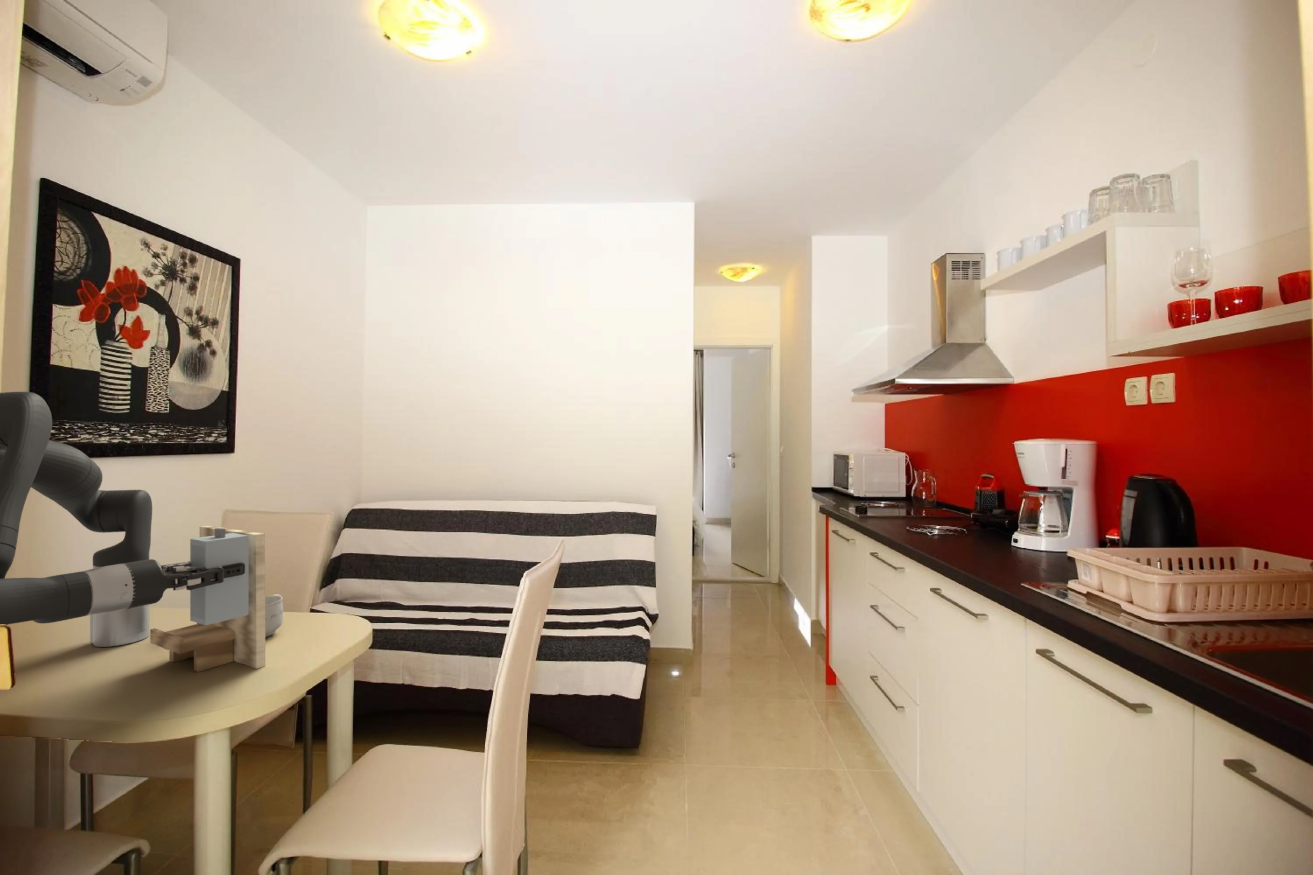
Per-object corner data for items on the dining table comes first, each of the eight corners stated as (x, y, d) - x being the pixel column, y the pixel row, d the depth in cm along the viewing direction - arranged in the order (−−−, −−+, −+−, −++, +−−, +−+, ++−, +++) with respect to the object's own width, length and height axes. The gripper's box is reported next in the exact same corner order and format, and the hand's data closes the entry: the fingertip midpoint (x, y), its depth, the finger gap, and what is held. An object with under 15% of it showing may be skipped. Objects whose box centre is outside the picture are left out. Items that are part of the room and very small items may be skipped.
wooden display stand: (145, 663, 115) (145, 533, 115) (208, 646, 125) (208, 525, 125) (201, 686, 105) (200, 542, 105) (265, 665, 114) (264, 533, 114)
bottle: (189, 620, 106) (189, 529, 106) (233, 610, 112) (233, 524, 112) (205, 625, 104) (205, 532, 103) (248, 614, 110) (248, 527, 110)
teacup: (254, 646, 125) (253, 609, 125) (212, 643, 127) (212, 606, 127) (305, 625, 138) (305, 592, 138) (267, 623, 140) (266, 589, 140)
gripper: (140, 569, 92) (256, 550, 107) (101, 559, 99) (215, 543, 114) (140, 616, 92) (256, 591, 107) (102, 603, 99) (215, 581, 114)
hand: (234, 566), depth 110 cm, fingers closed on bottle, 5 cm apart
